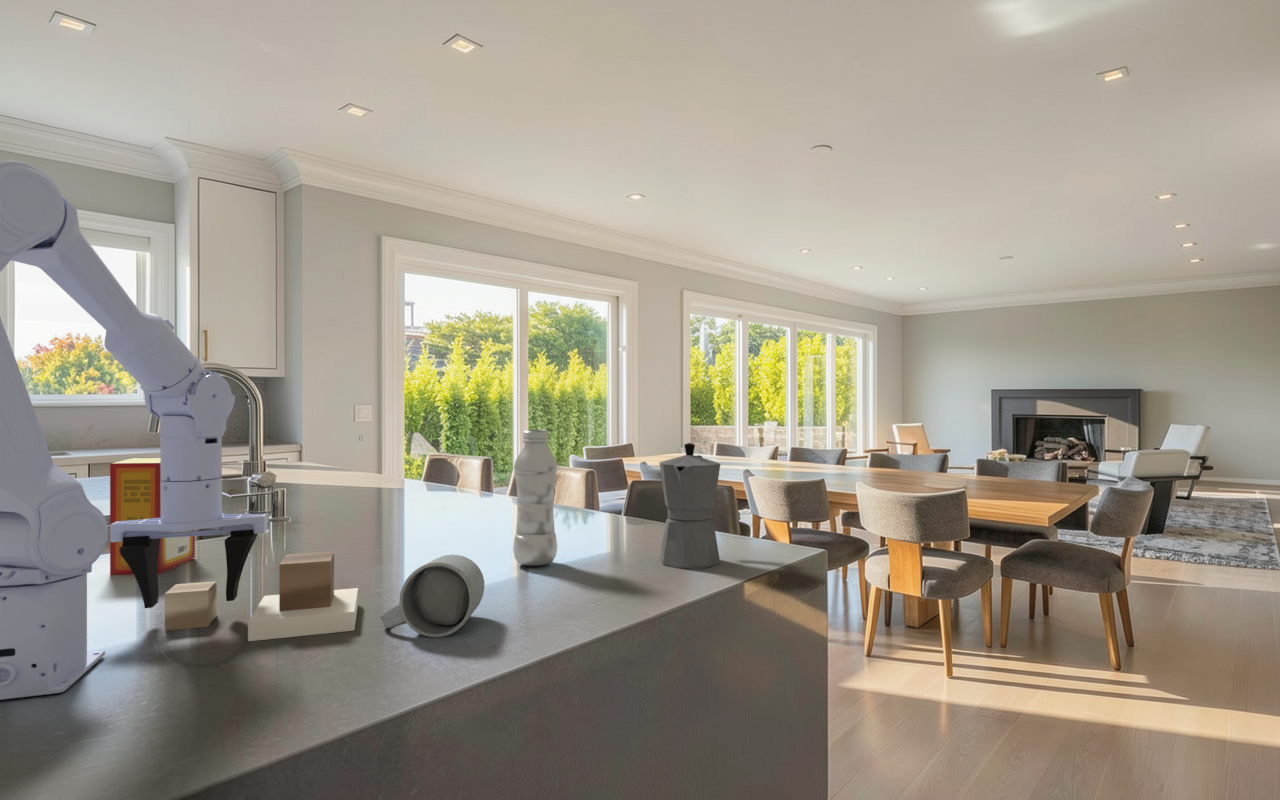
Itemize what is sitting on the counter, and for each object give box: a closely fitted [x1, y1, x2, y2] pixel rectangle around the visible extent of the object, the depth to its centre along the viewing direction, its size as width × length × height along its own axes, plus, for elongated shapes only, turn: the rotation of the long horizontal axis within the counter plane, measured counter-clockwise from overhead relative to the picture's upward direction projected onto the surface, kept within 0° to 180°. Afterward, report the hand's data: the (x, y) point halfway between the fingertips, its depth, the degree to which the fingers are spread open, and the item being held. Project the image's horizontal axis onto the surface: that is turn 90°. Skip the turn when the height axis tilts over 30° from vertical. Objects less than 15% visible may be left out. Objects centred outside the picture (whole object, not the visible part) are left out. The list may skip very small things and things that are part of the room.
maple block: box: [164, 580, 218, 631], centre depth 78 cm, size 4×4×4 cm
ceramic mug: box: [379, 554, 485, 638], centre depth 77 cm, size 11×8×8 cm
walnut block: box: [278, 551, 335, 611], centre depth 78 cm, size 5×5×5 cm
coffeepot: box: [658, 442, 721, 570], centre depth 108 cm, size 15×9×18 cm, turn 164°
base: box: [247, 587, 359, 642], centre depth 78 cm, size 10×10×2 cm
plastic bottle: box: [512, 429, 558, 567], centre depth 105 cm, size 6×7×20 cm
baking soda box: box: [109, 457, 196, 576], centre depth 104 cm, size 10×6×16 cm
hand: (192, 602), depth 78 cm, fingers open, 7 cm apart
